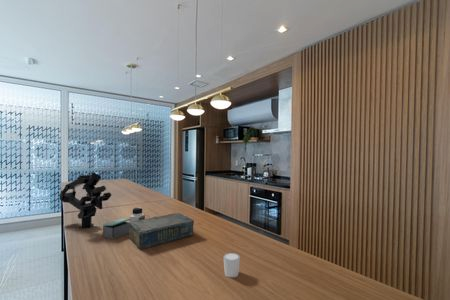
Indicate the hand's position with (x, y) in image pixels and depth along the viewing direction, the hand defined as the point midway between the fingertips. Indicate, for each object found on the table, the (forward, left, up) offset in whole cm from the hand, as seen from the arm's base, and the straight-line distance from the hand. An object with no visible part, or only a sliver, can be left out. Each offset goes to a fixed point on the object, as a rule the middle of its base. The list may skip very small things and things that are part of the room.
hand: (101, 208), depth 138 cm
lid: (+9, +12, -7) cm, 16 cm away
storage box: (+9, +12, -14) cm, 20 cm away
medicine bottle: (-5, +21, -14) cm, 25 cm away
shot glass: (+63, +72, -14) cm, 96 cm away
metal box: (+18, +39, -14) cm, 45 cm away
